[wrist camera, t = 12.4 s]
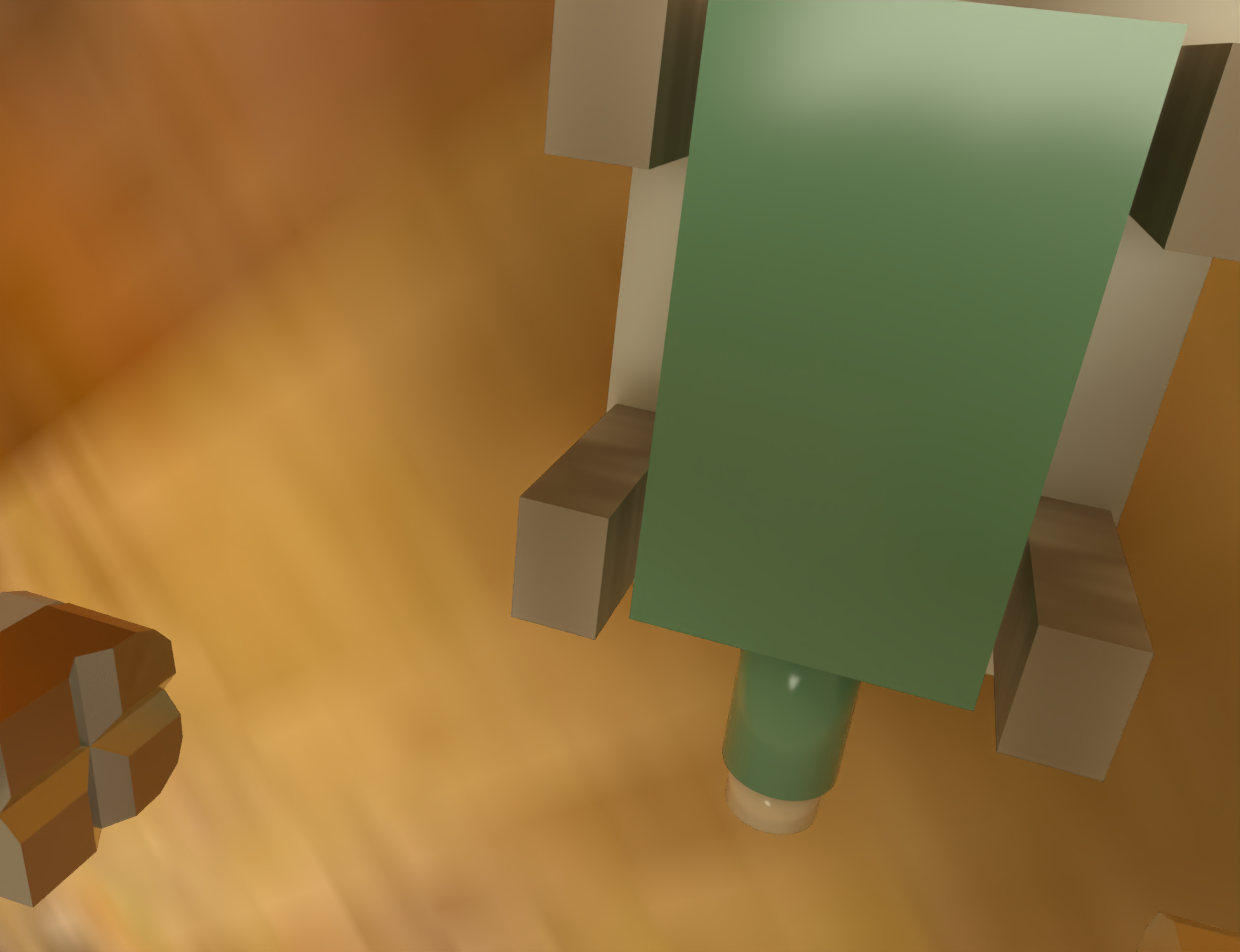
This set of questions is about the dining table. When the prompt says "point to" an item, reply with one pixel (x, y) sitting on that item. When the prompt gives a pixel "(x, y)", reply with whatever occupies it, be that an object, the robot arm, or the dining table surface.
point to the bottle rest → (1097, 414)
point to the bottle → (877, 346)
